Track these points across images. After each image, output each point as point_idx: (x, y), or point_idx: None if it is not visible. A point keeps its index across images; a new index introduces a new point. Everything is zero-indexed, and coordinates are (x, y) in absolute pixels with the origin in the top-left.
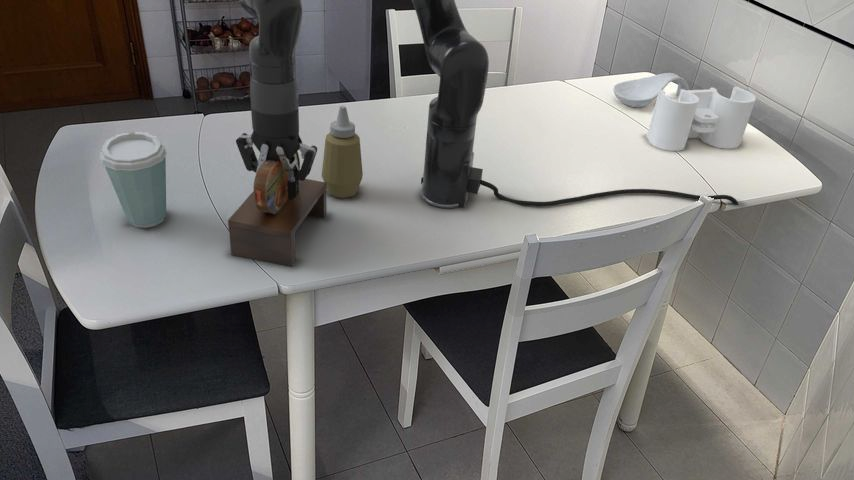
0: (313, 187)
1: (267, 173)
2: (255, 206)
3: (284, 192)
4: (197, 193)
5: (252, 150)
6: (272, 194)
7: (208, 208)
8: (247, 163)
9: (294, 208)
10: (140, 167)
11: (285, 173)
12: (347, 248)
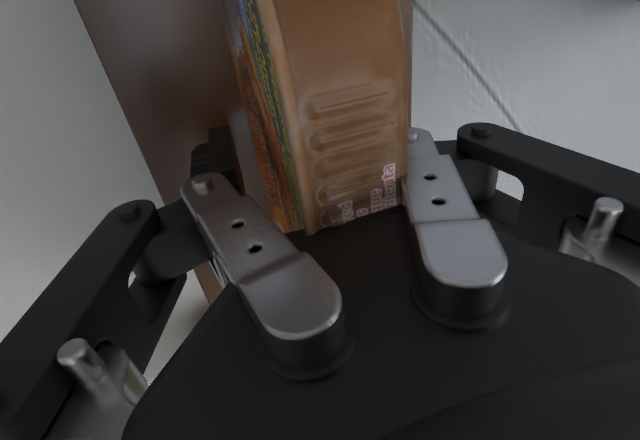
0: None
1: (295, 25)
2: None
3: (270, 156)
4: (555, 135)
5: (527, 237)
6: (248, 20)
7: (512, 88)
8: (507, 142)
9: (184, 103)
10: None
11: (296, 229)
12: (9, 118)
